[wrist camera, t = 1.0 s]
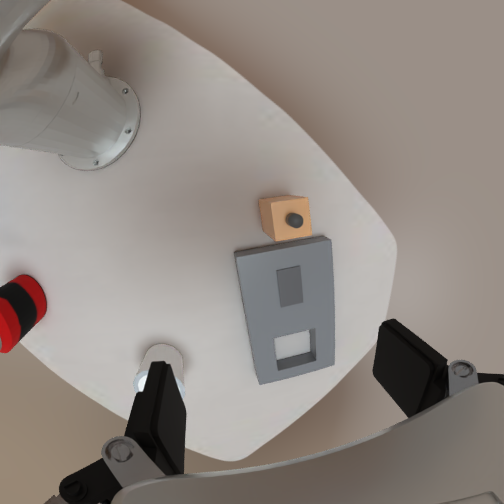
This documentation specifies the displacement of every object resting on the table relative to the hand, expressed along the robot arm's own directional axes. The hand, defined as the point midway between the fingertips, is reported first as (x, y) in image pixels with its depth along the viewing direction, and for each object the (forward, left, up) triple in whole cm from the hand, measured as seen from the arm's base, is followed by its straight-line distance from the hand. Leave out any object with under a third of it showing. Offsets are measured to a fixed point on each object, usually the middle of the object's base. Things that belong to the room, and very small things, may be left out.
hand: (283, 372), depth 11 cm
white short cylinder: (+15, -13, -24) cm, 31 cm away
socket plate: (+11, +6, -24) cm, 27 cm away
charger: (-3, +6, -24) cm, 25 cm away
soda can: (+2, -33, -24) cm, 41 cm away
